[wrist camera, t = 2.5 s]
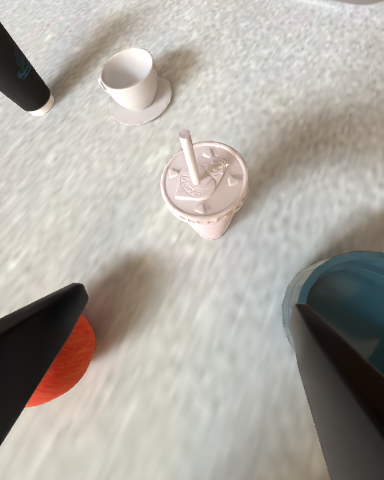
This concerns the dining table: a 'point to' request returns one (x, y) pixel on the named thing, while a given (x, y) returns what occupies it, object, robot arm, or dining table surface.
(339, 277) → the bowl
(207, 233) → the smoothie
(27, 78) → the dixie cup
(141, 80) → the teacup
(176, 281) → the dining table surface
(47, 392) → the apple
